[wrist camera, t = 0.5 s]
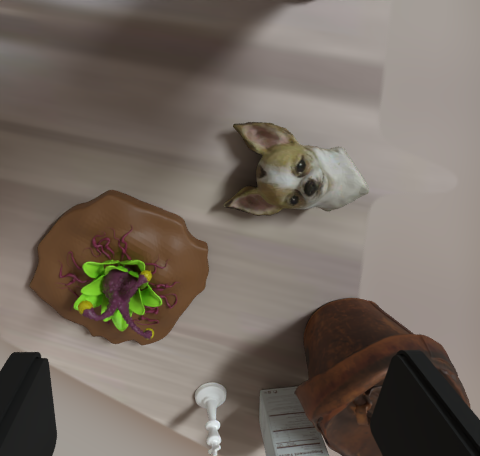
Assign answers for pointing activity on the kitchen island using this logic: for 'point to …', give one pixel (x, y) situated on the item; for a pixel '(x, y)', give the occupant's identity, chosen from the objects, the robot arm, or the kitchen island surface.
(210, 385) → the chess piece
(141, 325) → the plant
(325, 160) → the ceramic sculpture
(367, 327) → the brown flower pot
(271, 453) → the supplement box
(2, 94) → the kitchen island surface
